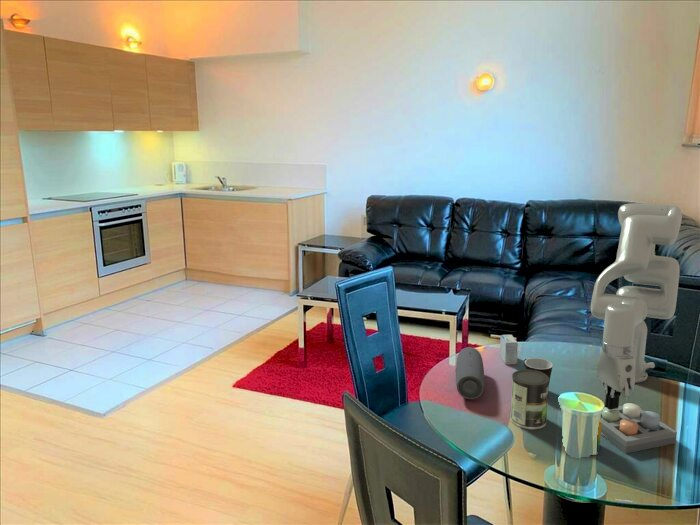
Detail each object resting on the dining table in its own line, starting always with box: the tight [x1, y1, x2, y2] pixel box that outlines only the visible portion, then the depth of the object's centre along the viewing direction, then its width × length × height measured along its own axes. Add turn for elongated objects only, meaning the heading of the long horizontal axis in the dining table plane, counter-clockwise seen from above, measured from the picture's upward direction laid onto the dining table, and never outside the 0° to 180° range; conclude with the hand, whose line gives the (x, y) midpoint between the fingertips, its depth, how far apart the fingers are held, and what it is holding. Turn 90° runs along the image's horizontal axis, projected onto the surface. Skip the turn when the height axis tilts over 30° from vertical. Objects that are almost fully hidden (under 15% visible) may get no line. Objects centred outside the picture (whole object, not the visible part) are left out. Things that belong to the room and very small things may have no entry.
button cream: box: [622, 402, 642, 419], centre depth 155 cm, size 4×4×3 cm
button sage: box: [602, 406, 620, 423], centre depth 153 cm, size 4×4×3 cm
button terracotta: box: [619, 419, 638, 437], centre depth 147 cm, size 4×4×3 cm
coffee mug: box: [523, 357, 554, 383], centre depth 177 cm, size 12×9×10 cm
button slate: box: [641, 410, 661, 430], centre depth 148 cm, size 4×4×3 cm
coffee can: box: [510, 368, 551, 430], centre depth 158 cm, size 10×10×14 cm
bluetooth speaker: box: [454, 346, 485, 400], centre depth 180 cm, size 23×9×10 cm, turn 168°
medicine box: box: [499, 334, 519, 366], centre depth 199 cm, size 8×4×9 cm, turn 179°
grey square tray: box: [600, 404, 677, 454], centre depth 151 cm, size 16×16×4 cm
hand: (611, 407), depth 153 cm, fingers closed
